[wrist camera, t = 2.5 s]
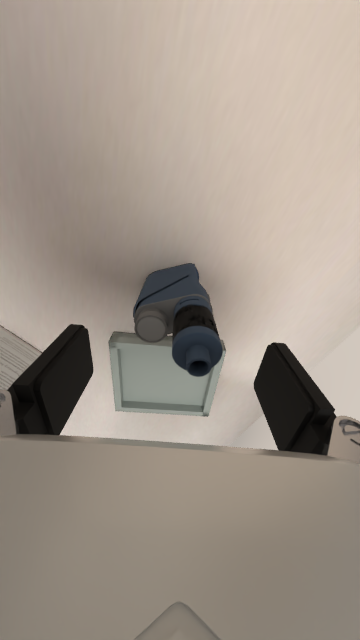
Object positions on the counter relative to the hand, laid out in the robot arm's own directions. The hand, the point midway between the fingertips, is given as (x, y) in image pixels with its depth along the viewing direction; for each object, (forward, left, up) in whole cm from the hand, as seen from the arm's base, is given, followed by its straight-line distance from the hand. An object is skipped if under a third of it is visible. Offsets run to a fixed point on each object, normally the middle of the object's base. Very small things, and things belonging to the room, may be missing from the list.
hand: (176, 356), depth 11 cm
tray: (+11, 0, -10) cm, 15 cm away
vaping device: (-1, 0, -10) cm, 10 cm away
